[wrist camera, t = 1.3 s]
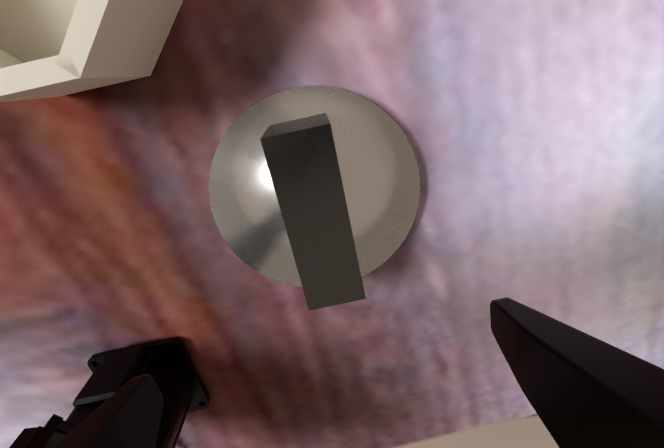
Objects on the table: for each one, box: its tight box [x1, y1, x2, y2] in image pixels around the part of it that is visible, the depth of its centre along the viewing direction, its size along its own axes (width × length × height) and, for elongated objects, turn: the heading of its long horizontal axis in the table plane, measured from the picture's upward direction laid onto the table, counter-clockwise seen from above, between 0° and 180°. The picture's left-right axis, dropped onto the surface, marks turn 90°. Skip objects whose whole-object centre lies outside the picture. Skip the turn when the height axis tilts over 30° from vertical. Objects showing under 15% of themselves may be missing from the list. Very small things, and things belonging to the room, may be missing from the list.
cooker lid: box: [209, 86, 420, 310], centre depth 19 cm, size 12×12×5 cm
